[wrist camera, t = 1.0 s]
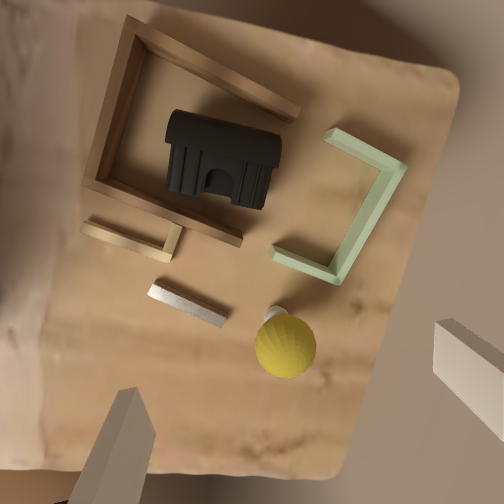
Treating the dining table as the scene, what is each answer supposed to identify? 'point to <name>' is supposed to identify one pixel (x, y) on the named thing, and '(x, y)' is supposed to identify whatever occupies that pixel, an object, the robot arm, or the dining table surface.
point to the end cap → (220, 158)
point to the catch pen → (365, 216)
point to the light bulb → (284, 344)
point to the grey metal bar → (187, 304)
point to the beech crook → (135, 240)
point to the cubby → (118, 105)
